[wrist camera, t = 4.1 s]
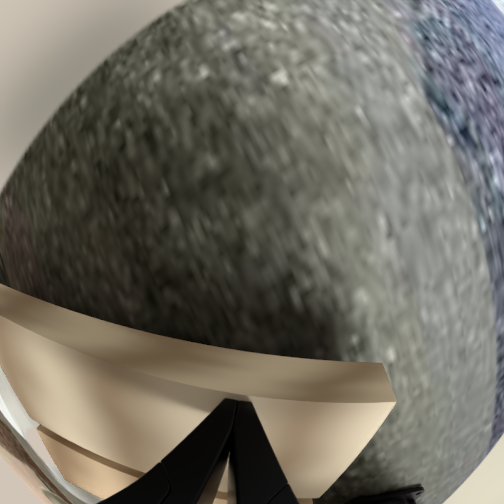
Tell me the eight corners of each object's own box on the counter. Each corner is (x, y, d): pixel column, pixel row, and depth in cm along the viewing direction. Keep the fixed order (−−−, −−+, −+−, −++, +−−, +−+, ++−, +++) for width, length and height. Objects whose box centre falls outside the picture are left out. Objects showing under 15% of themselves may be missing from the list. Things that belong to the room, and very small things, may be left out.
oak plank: (381, 362, 9) (396, 401, 7) (317, 470, 12) (318, 497, 10) (-2, 283, 10) (-26, 299, 8) (44, 399, 13) (30, 417, 11)
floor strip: (313, 477, 12) (315, 502, 10) (286, 520, 14) (286, 539, 12) (48, 408, 13) (34, 423, 11) (74, 465, 15) (65, 479, 13)
